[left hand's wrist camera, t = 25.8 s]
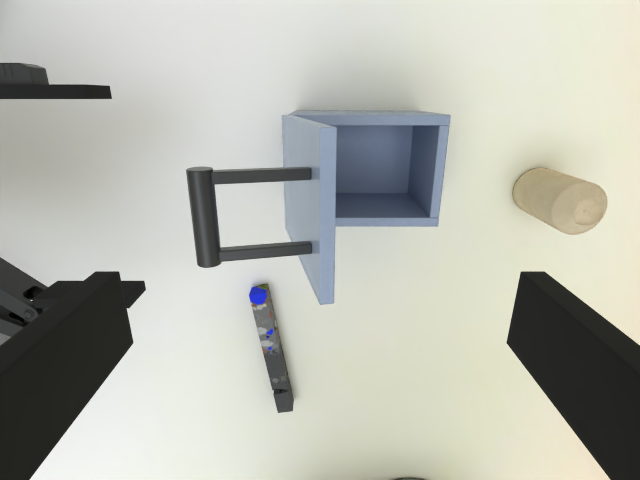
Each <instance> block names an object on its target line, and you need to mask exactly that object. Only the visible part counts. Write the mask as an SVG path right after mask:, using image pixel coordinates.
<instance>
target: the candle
mask: <svg viewBox="0 0 640 480" xmlns="http://www.w3.org/2000/svg"><path fill="white" fill-rule="evenodd" d="M513 198H514V201H515V203H516V205H517V206H518V207H519V208H520V209H522V210H523V211H525V212H527V213H529V214H530V215H532V216H534V217H536V218H538V219H539V220H541V221H543V222H545V223H547V224H548V225H550V226H552V227H554V228H556V229H557V230H559V231H561V232H563V233H566V234H571V235H575V234H581V233H584V232H586V231H589V230H590V229H592V228H593V227H595V226H596V225H597V224H598V223H599V222H600V221H601V219H602V218H603V216H604V214H605V212H606V208H607V197H606V194H605V192H604V190H603V189H602V188H601V187H600V186H598V185H596V184H594V183H591V182H588V181H585V180H581V179H578V178H575V177H572V176H569V175H566V174H562V173H559V172H556V171H553V170H549V169H546V168H535V169H532V170H529V171H527V172H526V173H524V174H523V175H522V176H521V177H520V178H519V179H518V180H517V182H516V184H515V186H514V190H513Z"/></svg>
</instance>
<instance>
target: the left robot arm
mask: <svg viewBox="0 0 640 480" xmlns="http://www.w3.org/2000/svg"><path fill="white" fill-rule="evenodd" d="M132 344H133V339H132V334H131V329H130V324H129V319H128V314H127V309H126V304H125V299H124V294H123V289H122V284H121V279H120V274H119V272H94V273H93V274H92V275H91V276H89V277H88V278H87V279H85V280H84V281H83V282H82V283H80V284H79V285H78V286H76V287H75V288H74V289H73V290H71V291H70V292H69V293H67V294H66V295H65V296H64V297H62V298H61V299H60V300H58V301H57V302H56V303H55V304H53V305H52V306H51V307H49V308H48V309H47V310H46V311H44V312H43V313H42V314H40V315H39V316H38V317H36V318H35V319H34V320H33V321H31V322H30V323H29V324H27V325H26V326H25V327H24V328H22V329H21V330H20V331H18V332H17V333H16V334H15V335H13V336H12V337H11V338H9V339H8V340H7V341H6V342H4V343H3V344H2V345H0V480H29V479H30V478H31V477H32V475H33V474H34V473H35V472H36V470H37V469H38V468H39V466H40V465H41V464H42V462H43V461H44V460H45V458H46V457H47V456H48V454H49V453H50V452H51V451H52V449H53V448H54V447H55V445H56V444H57V443H58V441H59V440H60V439H61V437H62V436H63V435H64V433H65V432H66V431H67V429H68V428H69V427H70V426H71V424H72V423H73V422H74V420H75V419H76V418H77V416H78V415H79V414H80V412H81V411H82V410H83V408H84V407H85V406H86V404H87V403H88V402H89V401H90V399H91V398H92V397H93V395H94V394H95V393H96V391H97V390H98V389H99V387H100V386H101V385H102V383H103V382H104V381H105V380H106V378H107V377H108V376H109V374H110V373H111V372H112V370H113V369H114V368H115V366H116V365H117V364H118V362H119V361H120V360H121V358H122V357H123V356H124V355H125V353H126V352H127V351H128V349H129V348H130V347H131V345H132ZM507 344H508V345H509V347H510V348H511V349H512V351H513V352H514V353H515V355H516V356H517V357H518V358H519V360H520V361H521V362H522V364H523V365H524V366H525V368H526V369H527V370H528V372H529V373H530V374H531V376H532V377H533V378H534V380H535V381H536V382H537V383H538V385H539V386H540V387H541V389H542V390H543V391H544V393H545V394H546V395H547V397H548V398H549V399H550V401H551V402H552V403H553V405H554V406H555V407H556V408H557V410H558V411H559V412H560V414H561V415H562V416H563V418H564V419H565V420H566V422H567V423H568V424H569V426H570V427H571V428H572V429H573V431H574V432H575V433H576V435H577V436H578V437H579V439H580V440H581V441H582V443H583V444H584V445H585V447H586V448H587V449H588V451H589V452H590V453H591V454H592V456H593V457H594V458H595V460H596V461H597V462H598V464H599V465H600V466H601V468H602V469H603V470H604V472H605V473H606V474H607V475H608V477H609V478H610V479H611V480H640V345H638V344H637V343H636V342H634V341H633V340H632V339H631V338H629V337H628V336H627V335H625V334H624V333H623V332H622V331H620V330H619V329H618V328H616V327H615V326H614V325H613V324H611V323H610V322H609V321H607V320H606V319H605V318H604V317H602V316H601V315H600V314H598V313H597V312H596V311H594V310H593V309H592V308H591V307H589V306H588V305H587V304H585V303H584V302H583V301H582V300H580V299H579V298H578V297H576V296H575V295H574V294H573V293H571V292H570V291H569V290H567V289H566V288H565V287H564V286H562V285H561V284H560V283H558V282H557V281H556V280H555V279H553V278H552V277H551V276H549V275H548V274H547V273H546V272H521V274H520V279H519V284H518V289H517V294H516V299H515V304H514V309H513V314H512V319H511V324H510V329H509V334H508V339H507ZM399 480H421V479H399Z"/></svg>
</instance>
